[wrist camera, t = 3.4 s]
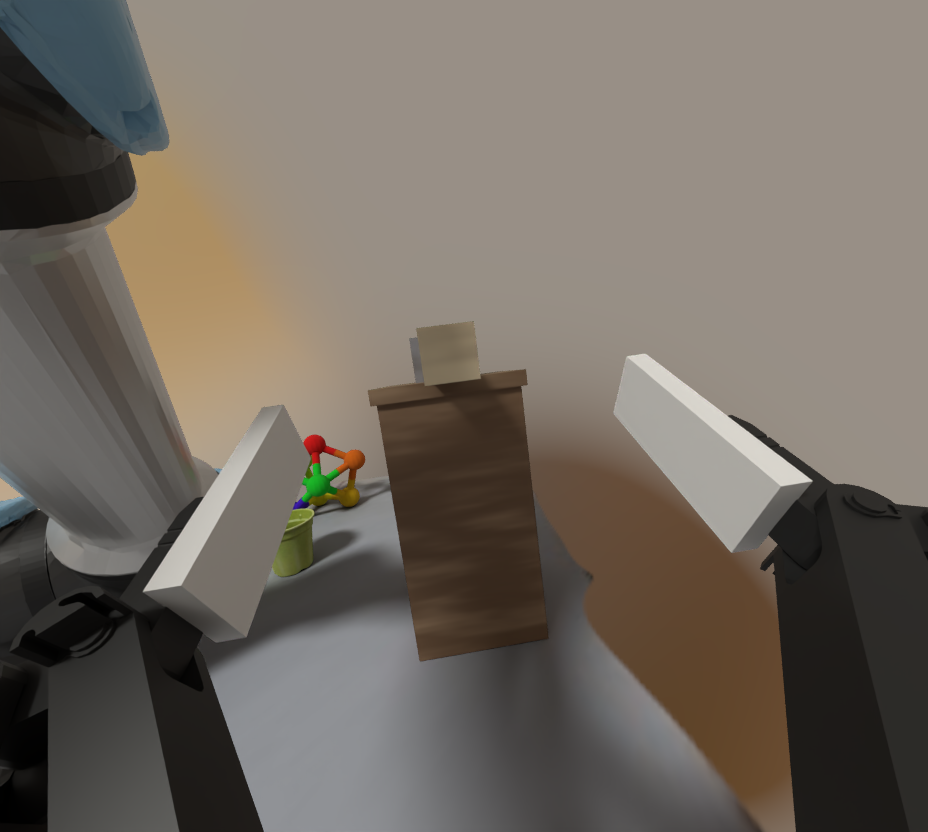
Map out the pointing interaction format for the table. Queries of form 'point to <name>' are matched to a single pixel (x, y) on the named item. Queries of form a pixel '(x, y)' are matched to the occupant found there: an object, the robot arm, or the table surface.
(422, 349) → the mallet
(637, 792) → the table surface
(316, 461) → the molecular model
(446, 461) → the stand
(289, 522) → the plant pot
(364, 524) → the table surface
